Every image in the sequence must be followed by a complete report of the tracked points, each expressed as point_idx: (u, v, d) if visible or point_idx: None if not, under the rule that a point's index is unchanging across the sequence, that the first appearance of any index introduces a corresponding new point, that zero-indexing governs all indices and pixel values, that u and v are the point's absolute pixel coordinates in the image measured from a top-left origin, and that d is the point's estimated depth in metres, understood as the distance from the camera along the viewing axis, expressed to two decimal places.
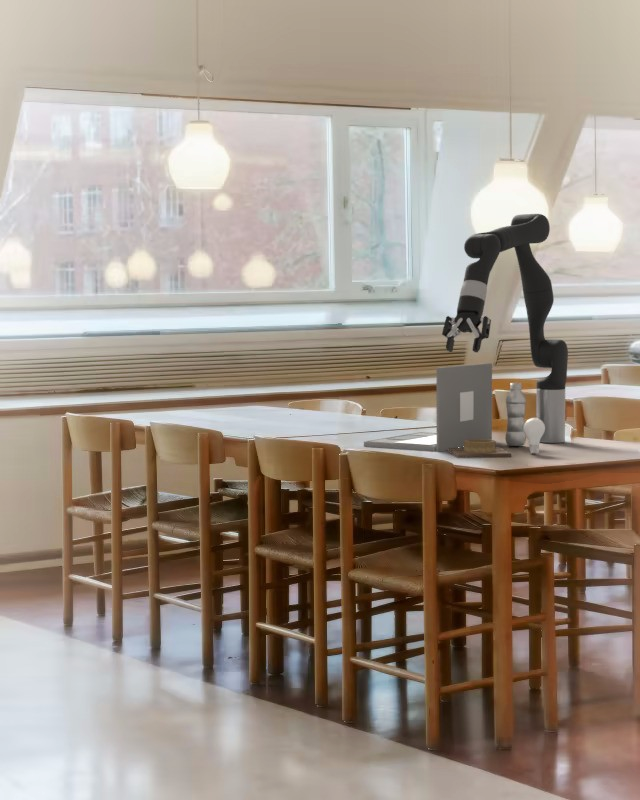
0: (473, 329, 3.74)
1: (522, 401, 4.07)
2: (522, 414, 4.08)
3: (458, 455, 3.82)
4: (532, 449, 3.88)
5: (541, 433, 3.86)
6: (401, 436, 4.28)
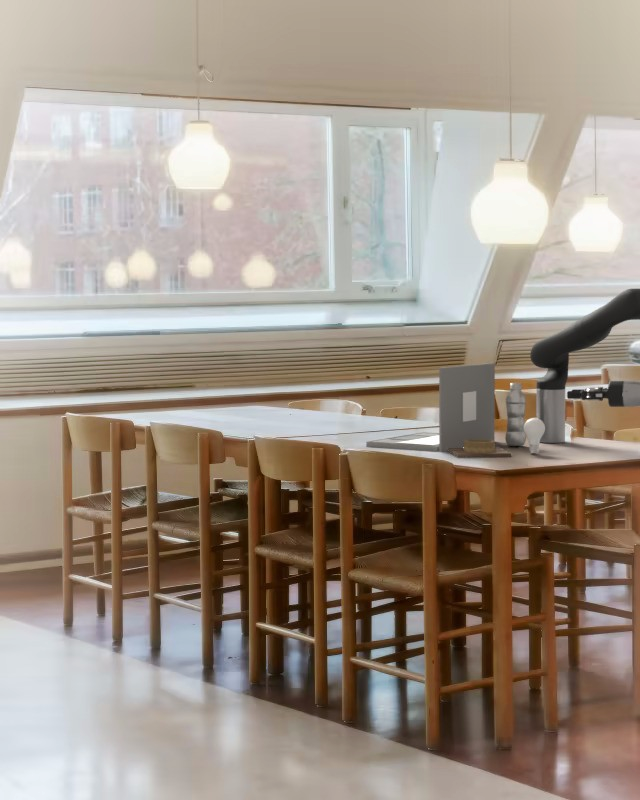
0: None
1: (522, 401, 4.07)
2: (522, 414, 4.08)
3: (458, 455, 3.82)
4: (532, 449, 3.88)
5: (541, 433, 3.86)
6: (404, 436, 4.28)
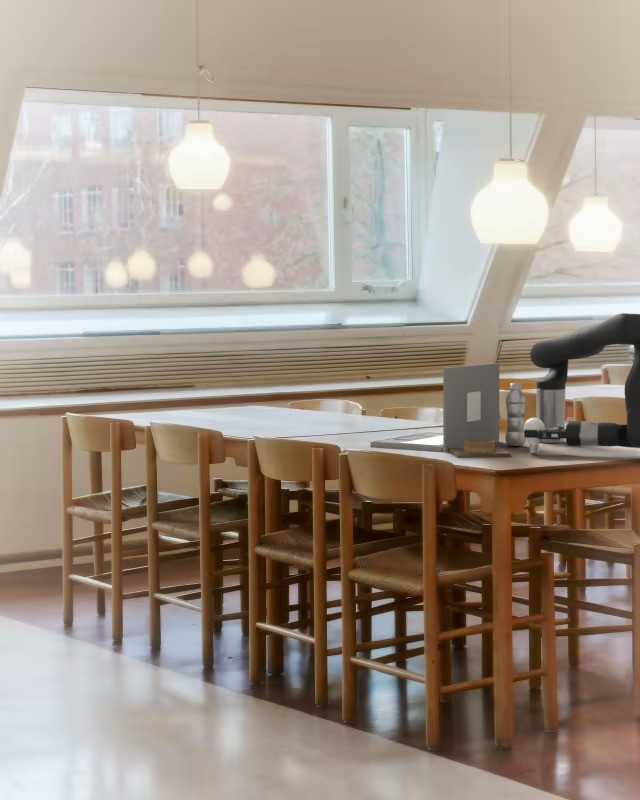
0: None
1: (522, 401, 4.07)
2: (522, 414, 4.08)
3: (458, 455, 3.82)
4: (532, 449, 3.88)
5: None
6: (408, 436, 4.27)
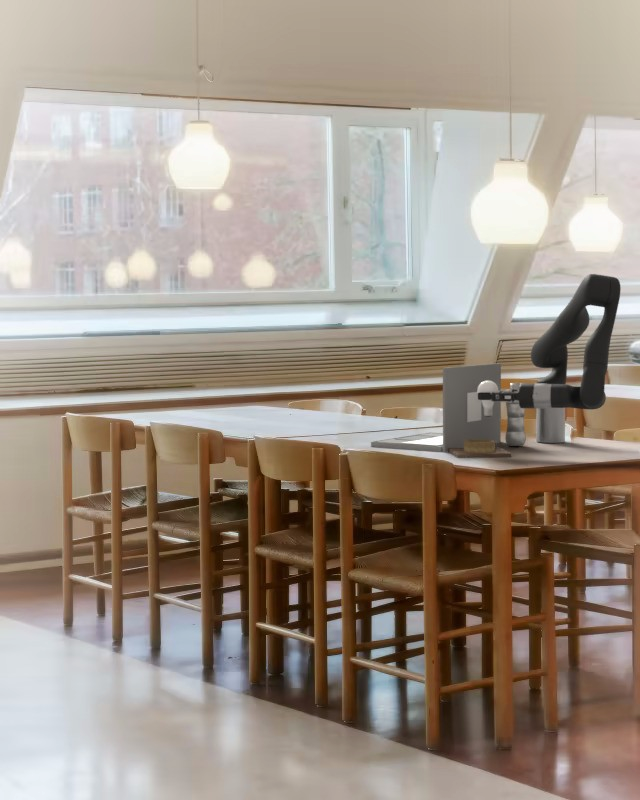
0: None
1: None
2: (522, 414, 4.08)
3: (458, 455, 3.82)
4: (486, 411, 3.88)
5: None
6: (409, 436, 4.27)
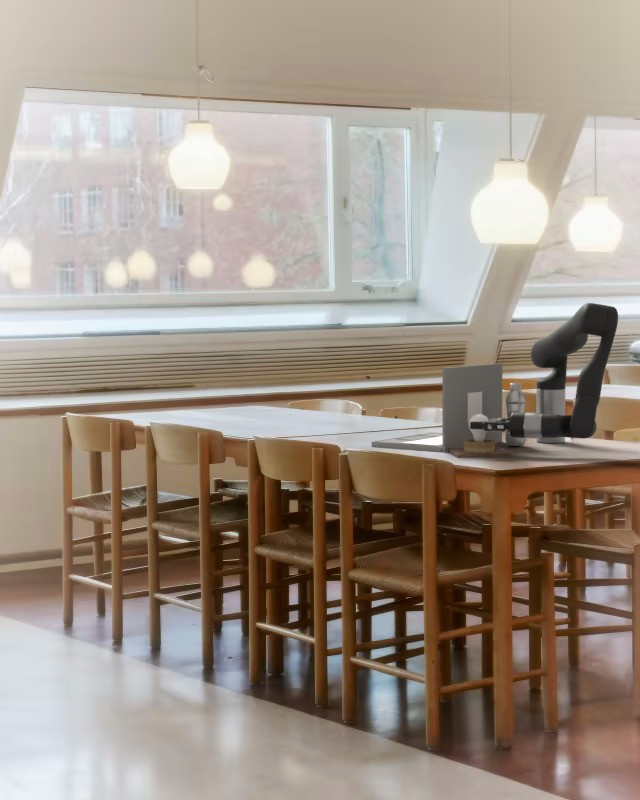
0: None
1: (522, 401, 4.07)
2: None
3: (458, 455, 3.82)
4: None
5: None
6: (411, 436, 4.27)
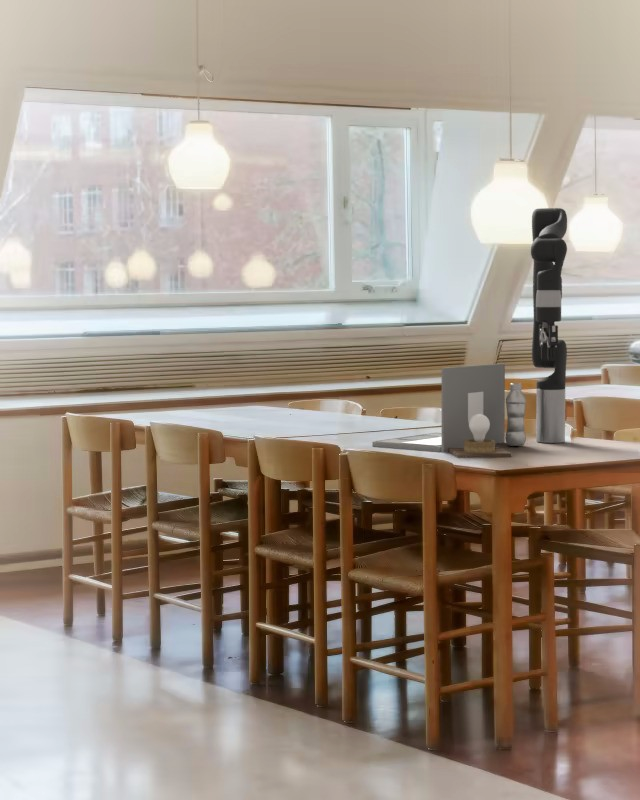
0: (545, 339, 3.87)
1: (522, 401, 4.07)
2: (522, 414, 4.08)
3: (458, 455, 3.82)
4: None
5: (486, 429, 3.89)
6: (413, 436, 4.27)
